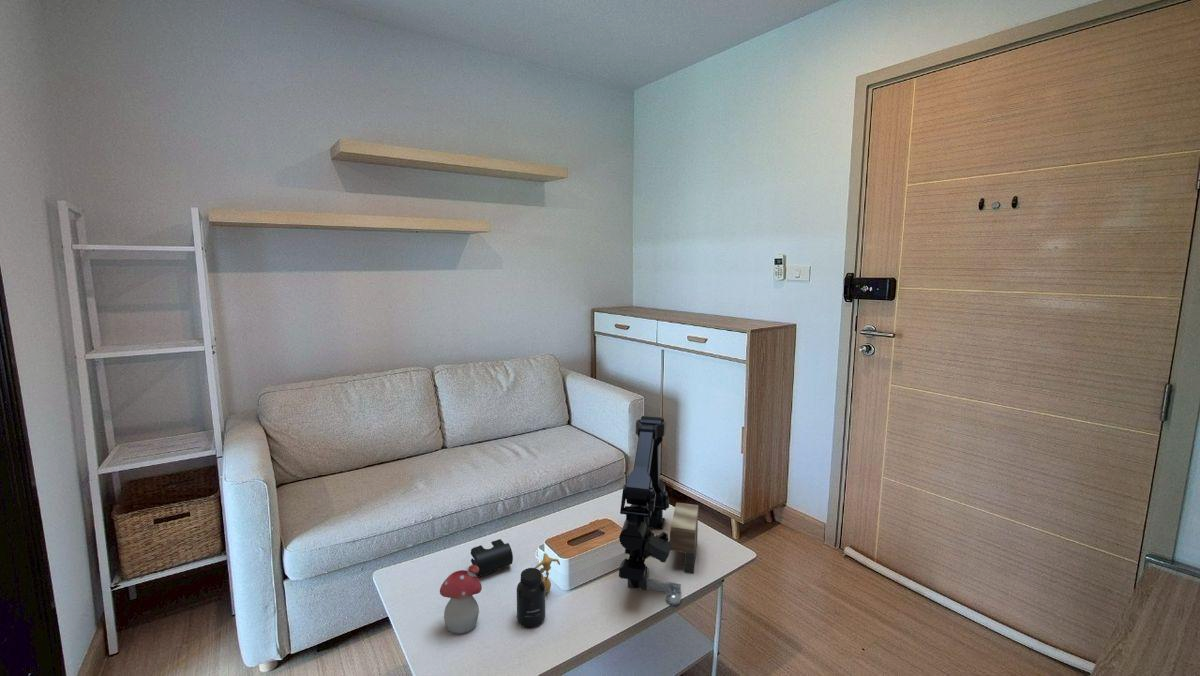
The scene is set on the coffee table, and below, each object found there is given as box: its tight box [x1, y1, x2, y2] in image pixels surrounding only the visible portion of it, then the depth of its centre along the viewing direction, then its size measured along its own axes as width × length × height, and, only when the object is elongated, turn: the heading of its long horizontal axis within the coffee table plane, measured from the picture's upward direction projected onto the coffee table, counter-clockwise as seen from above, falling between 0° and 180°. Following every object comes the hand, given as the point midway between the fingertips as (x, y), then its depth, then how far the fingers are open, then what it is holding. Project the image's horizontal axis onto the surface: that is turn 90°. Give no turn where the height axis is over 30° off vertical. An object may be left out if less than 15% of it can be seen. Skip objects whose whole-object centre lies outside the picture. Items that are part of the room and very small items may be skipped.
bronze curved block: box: [669, 502, 699, 575], centre depth 144 cm, size 14×7×13 cm, turn 165°
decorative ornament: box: [439, 564, 483, 634], centre depth 117 cm, size 9×7×15 cm
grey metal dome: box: [665, 589, 682, 607], centre depth 126 cm, size 4×4×2 cm
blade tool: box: [627, 567, 682, 594], centre depth 131 cm, size 2×14×5 cm, turn 75°
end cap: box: [470, 538, 514, 578], centre depth 139 cm, size 10×7×7 cm
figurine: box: [534, 552, 561, 594], centre depth 128 cm, size 8×6×12 cm
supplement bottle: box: [516, 567, 546, 629], centre depth 119 cm, size 7×7×12 cm
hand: (637, 582), depth 132 cm, fingers open, 4 cm apart
